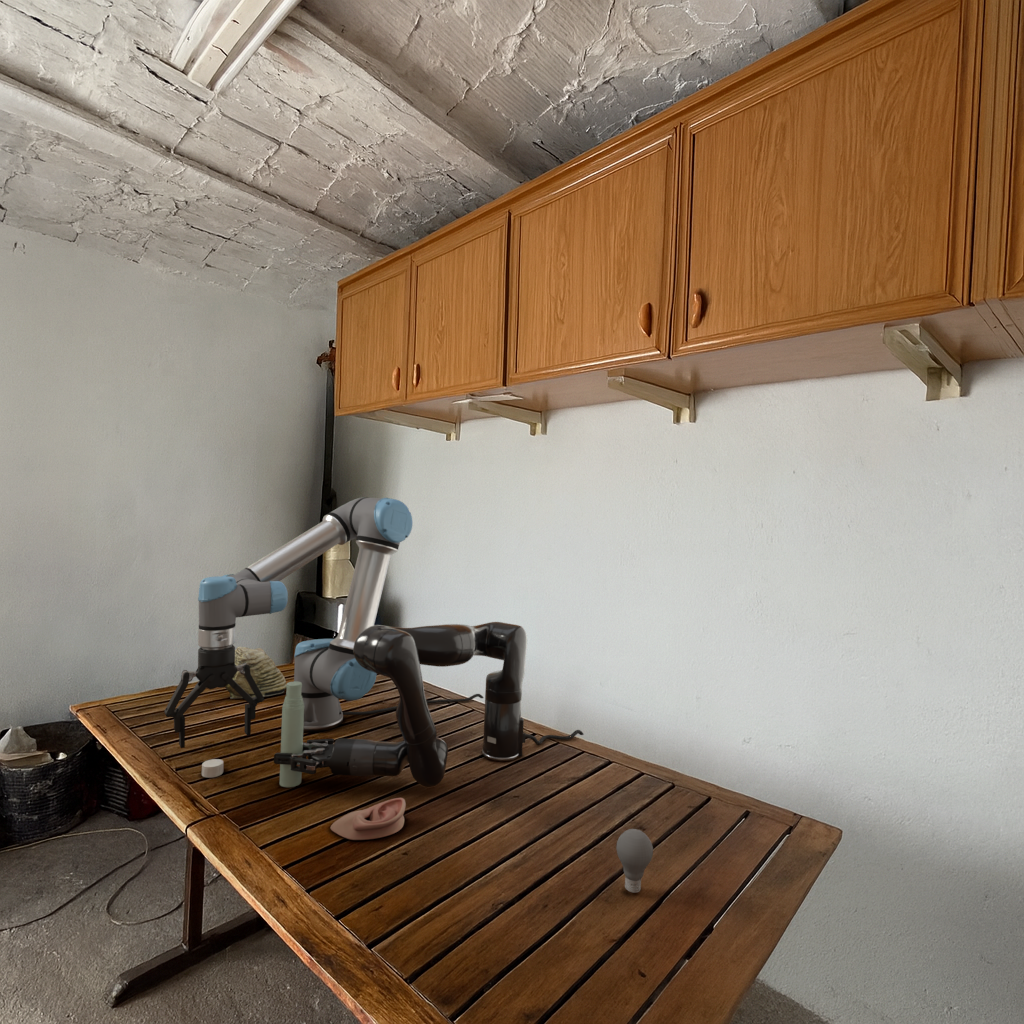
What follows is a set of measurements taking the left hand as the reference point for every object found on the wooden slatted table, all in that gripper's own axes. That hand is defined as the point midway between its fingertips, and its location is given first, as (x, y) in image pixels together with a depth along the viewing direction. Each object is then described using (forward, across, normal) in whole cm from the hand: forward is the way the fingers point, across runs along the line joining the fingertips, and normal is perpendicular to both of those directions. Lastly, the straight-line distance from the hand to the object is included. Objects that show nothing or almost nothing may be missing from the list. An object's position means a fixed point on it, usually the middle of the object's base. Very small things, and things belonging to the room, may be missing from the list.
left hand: (215, 739), depth 143 cm
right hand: (+1, +11, -12) cm, 16 cm away
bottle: (+8, +13, -13) cm, 20 cm away
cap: (+5, 0, 0) cm, 5 cm away
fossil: (+8, +20, +53) cm, 57 cm away
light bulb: (+8, +50, -81) cm, 95 cm away
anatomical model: (+8, +20, -39) cm, 45 cm away
